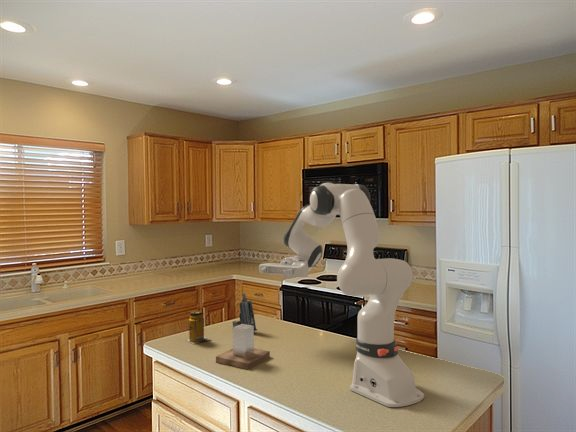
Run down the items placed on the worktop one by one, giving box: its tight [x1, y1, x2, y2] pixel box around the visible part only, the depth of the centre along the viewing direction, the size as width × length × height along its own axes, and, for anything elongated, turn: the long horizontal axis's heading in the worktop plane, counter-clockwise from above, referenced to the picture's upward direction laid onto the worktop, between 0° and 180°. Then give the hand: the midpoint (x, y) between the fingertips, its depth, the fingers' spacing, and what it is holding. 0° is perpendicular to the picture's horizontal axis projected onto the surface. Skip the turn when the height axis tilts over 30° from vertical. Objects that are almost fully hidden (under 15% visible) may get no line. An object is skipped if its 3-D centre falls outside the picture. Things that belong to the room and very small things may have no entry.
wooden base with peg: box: [215, 347, 271, 370], centre depth 151 cm, size 14×14×7 cm
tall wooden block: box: [232, 324, 255, 357], centre depth 151 cm, size 5×5×10 cm
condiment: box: [186, 310, 212, 345], centre depth 174 cm, size 7×8×12 cm
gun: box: [232, 293, 258, 332], centre depth 189 cm, size 3×17×15 cm
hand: (272, 272), depth 164 cm, fingers open, 8 cm apart
